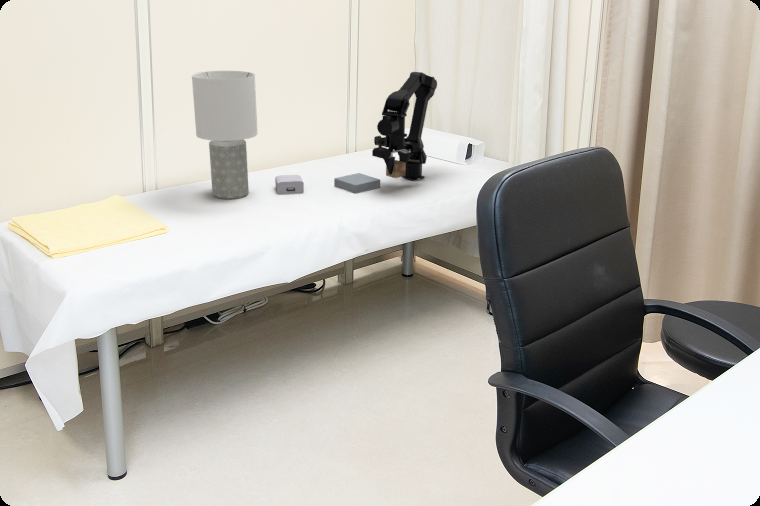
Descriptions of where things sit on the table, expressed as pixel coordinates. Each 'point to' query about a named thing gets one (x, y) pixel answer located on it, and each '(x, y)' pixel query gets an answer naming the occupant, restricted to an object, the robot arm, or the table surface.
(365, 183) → the grey base
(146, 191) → the table surface
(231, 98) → the lamp
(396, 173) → the walnut cube
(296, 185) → the charger
